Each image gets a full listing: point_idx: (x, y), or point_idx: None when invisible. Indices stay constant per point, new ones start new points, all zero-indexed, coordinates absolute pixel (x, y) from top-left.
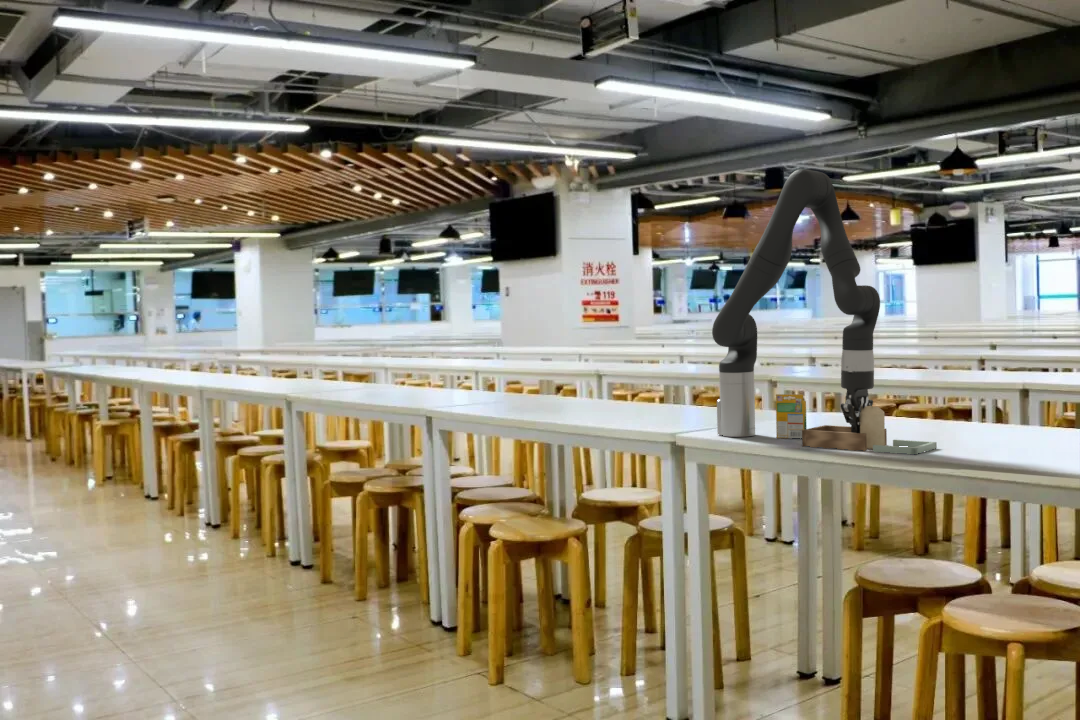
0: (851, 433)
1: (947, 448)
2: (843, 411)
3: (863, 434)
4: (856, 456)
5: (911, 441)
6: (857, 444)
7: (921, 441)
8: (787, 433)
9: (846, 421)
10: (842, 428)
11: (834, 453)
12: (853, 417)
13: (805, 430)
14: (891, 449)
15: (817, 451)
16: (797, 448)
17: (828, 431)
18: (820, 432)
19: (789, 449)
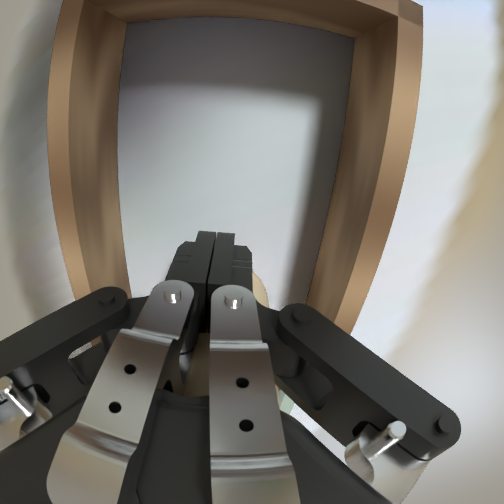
0: (75, 299)
1: (296, 419)
2: (5, 349)
3: (92, 344)
4: (30, 304)
5: (283, 394)
6: None
7: (286, 408)
8: None
9: (93, 294)
10: (381, 128)
11: (22, 230)
12: (74, 366)
13: (62, 5)
14: None
15: (20, 154)
16: (52, 37)
17: (58, 156)
18: (52, 105)
19: (24, 38)
